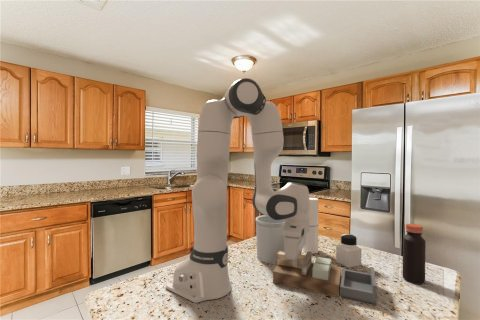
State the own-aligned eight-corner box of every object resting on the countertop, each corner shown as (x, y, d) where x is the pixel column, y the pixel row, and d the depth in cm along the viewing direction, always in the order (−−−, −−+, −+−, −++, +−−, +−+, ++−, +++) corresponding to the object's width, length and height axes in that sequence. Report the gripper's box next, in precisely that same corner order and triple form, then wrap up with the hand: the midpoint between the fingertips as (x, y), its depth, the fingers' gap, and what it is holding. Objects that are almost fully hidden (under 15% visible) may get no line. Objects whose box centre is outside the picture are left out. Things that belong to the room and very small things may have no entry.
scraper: (273, 268, 89) (273, 257, 89) (282, 256, 100) (282, 247, 100) (306, 275, 85) (306, 263, 85) (311, 262, 95) (311, 251, 95)
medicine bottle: (361, 265, 103) (362, 236, 102) (348, 268, 100) (348, 238, 100) (348, 259, 109) (348, 231, 109) (335, 261, 107) (335, 233, 106)
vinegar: (420, 276, 93) (420, 223, 93) (428, 285, 87) (429, 228, 86) (399, 274, 95) (400, 222, 95) (406, 283, 88) (407, 227, 88)
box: (340, 297, 79) (340, 278, 79) (342, 278, 92) (342, 262, 92) (376, 305, 75) (376, 286, 75) (373, 284, 87) (373, 267, 87)
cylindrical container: (318, 253, 115) (319, 200, 115) (303, 252, 116) (303, 199, 116) (317, 248, 122) (317, 197, 122) (302, 247, 123) (302, 197, 123)
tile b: (315, 270, 90) (315, 261, 90) (317, 264, 94) (317, 256, 94) (329, 272, 87) (329, 264, 87) (331, 267, 92) (331, 259, 92)
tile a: (312, 277, 84) (312, 268, 84) (314, 271, 89) (314, 262, 89) (328, 280, 82) (328, 271, 82) (329, 274, 87) (329, 265, 87)
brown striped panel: (272, 282, 89) (272, 271, 89) (283, 266, 101) (283, 257, 101) (339, 297, 79) (339, 284, 79) (341, 278, 92) (341, 267, 92)
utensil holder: (281, 267, 100) (281, 224, 100) (249, 259, 108) (249, 219, 108) (293, 255, 113) (294, 217, 113) (264, 249, 121) (264, 213, 121)
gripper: (294, 218, 103) (294, 252, 103) (281, 232, 84) (280, 272, 84) (310, 220, 100) (310, 254, 100) (299, 234, 81) (299, 276, 81)
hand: (296, 263), depth 92 cm, fingers closed on scraper, 3 cm apart
